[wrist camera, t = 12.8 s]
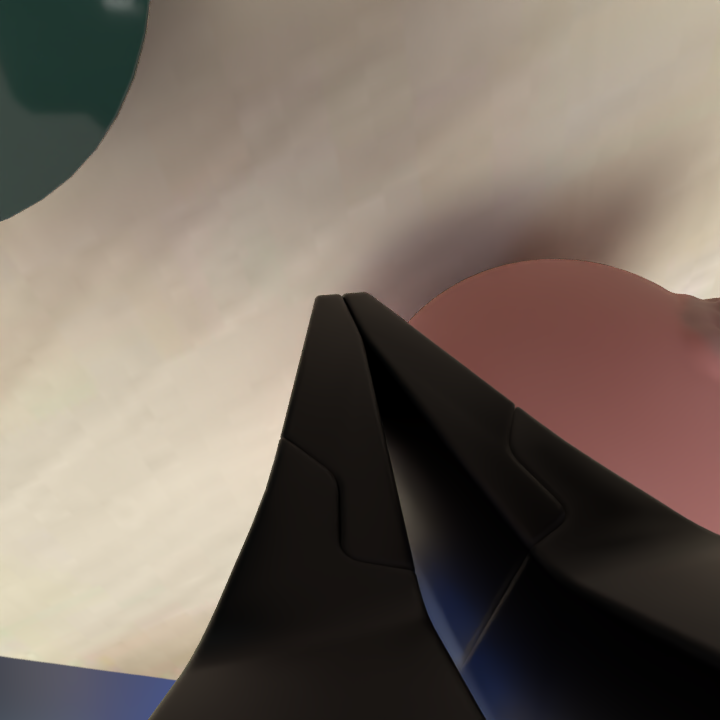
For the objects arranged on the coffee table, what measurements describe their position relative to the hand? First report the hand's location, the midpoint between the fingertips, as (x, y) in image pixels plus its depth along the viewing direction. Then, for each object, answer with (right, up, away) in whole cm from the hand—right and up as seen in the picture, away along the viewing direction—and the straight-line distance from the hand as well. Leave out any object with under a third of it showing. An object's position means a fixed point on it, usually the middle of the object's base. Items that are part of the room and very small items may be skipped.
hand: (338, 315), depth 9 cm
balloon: (+8, +2, +19) cm, 21 cm away
